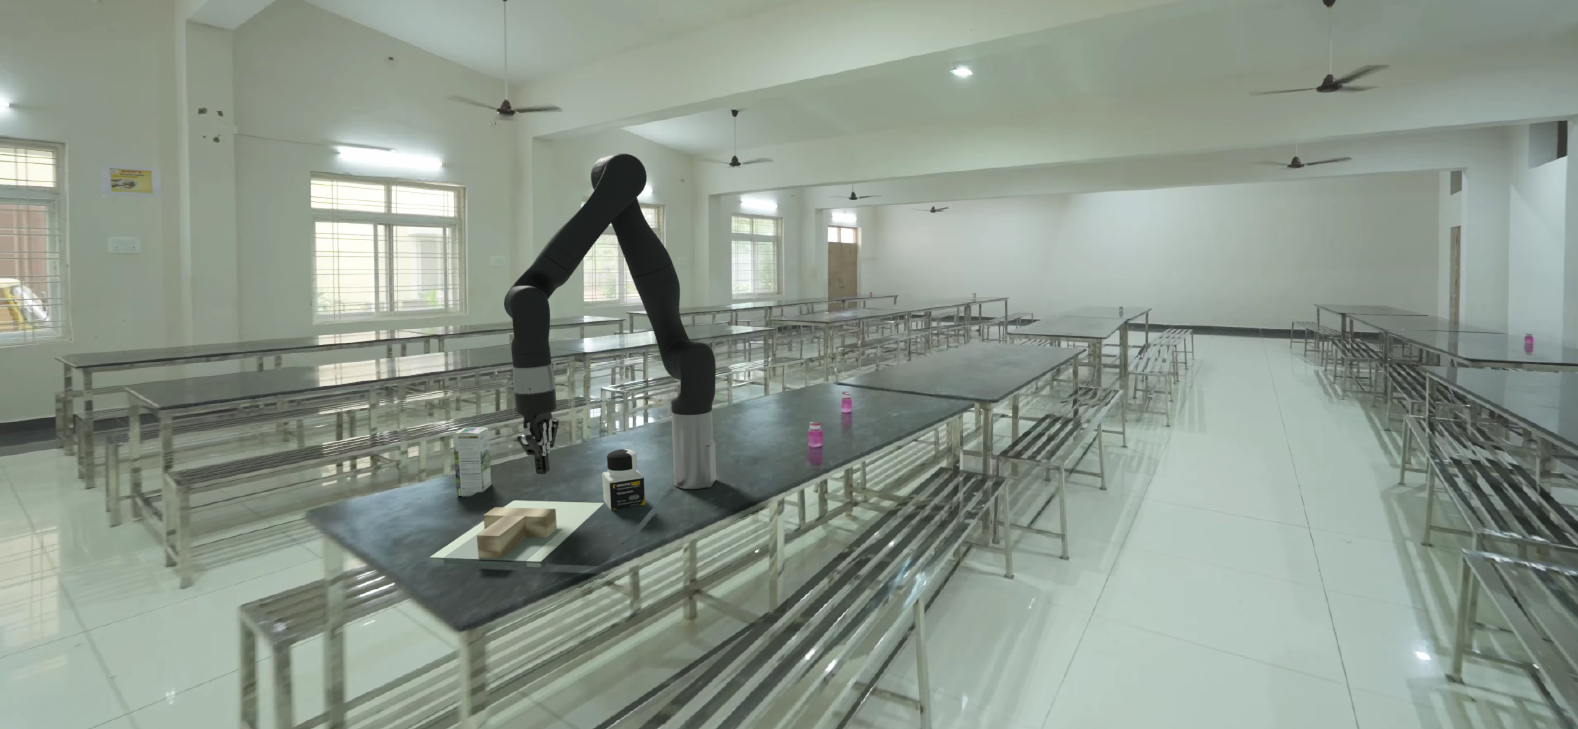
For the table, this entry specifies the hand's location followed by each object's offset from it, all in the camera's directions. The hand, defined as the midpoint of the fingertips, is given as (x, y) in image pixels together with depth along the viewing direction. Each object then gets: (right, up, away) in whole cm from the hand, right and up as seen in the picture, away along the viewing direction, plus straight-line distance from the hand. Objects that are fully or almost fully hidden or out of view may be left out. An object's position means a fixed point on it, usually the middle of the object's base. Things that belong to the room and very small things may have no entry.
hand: (543, 472), depth 133 cm
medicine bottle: (+14, -9, +7) cm, 18 cm away
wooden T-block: (-1, -10, -13) cm, 17 cm away
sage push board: (-1, -10, -6) cm, 12 cm away
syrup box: (-22, -7, +17) cm, 28 cm away
